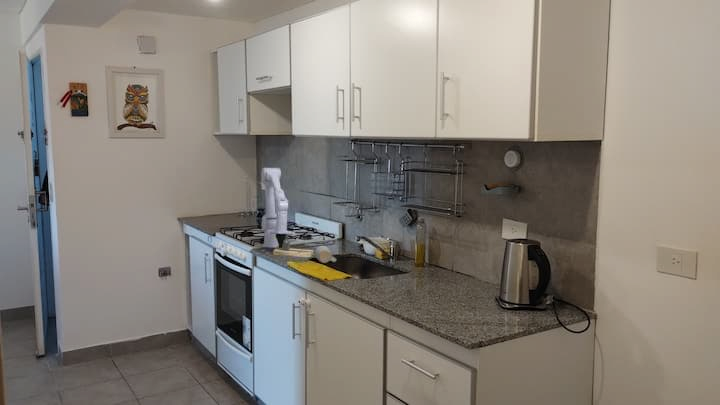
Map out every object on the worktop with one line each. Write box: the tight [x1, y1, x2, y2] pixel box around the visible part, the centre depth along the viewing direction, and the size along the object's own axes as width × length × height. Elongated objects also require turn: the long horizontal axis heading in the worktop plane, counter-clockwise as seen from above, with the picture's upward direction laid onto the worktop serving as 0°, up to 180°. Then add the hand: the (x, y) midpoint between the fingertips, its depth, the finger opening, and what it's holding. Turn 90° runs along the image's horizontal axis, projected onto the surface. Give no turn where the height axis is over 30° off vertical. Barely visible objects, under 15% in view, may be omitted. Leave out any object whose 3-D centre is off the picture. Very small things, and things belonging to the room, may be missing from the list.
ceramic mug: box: [314, 245, 337, 264], centre depth 299 cm, size 11×8×8 cm
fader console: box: [272, 246, 314, 258], centre depth 311 cm, size 9×20×2 cm, turn 85°
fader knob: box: [282, 240, 291, 250], centre depth 311 cm, size 4×3×4 cm
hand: (280, 247), depth 311 cm, fingers closed
